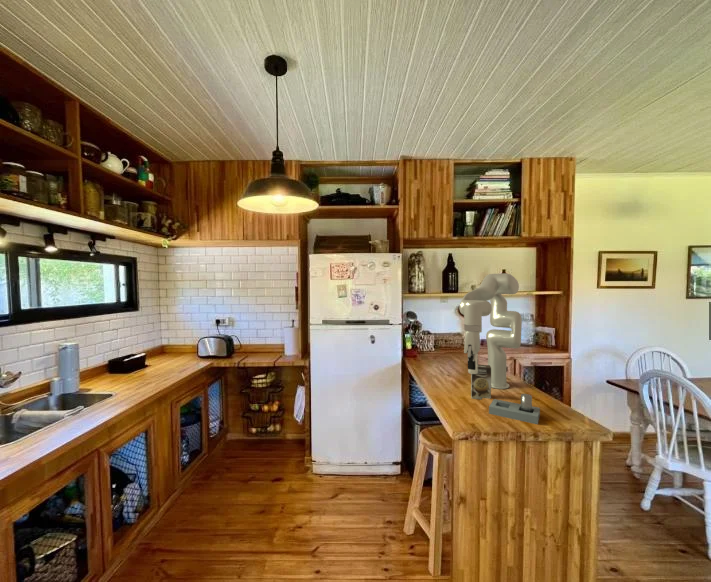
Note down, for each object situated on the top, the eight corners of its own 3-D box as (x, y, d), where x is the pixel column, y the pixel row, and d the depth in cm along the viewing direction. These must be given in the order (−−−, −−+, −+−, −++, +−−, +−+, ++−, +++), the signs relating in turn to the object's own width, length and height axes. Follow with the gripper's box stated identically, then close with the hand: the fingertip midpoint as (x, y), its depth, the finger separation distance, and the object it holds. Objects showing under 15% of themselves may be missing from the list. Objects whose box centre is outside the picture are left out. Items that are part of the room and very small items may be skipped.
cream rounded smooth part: (469, 371, 141) (469, 351, 141) (478, 372, 139) (478, 353, 139) (467, 373, 138) (467, 353, 138) (476, 374, 136) (476, 354, 135)
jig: (494, 407, 138) (494, 398, 138) (539, 417, 128) (539, 407, 128) (488, 415, 129) (488, 406, 129) (537, 426, 119) (537, 416, 119)
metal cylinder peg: (521, 414, 129) (521, 393, 129) (532, 416, 127) (532, 394, 127) (520, 417, 126) (520, 395, 126) (531, 419, 123) (531, 397, 123)
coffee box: (471, 398, 150) (471, 366, 150) (470, 394, 156) (470, 363, 156) (491, 400, 147) (491, 367, 147) (490, 396, 153) (490, 364, 153)
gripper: (469, 325, 147) (469, 363, 147) (459, 330, 133) (459, 371, 134) (485, 326, 143) (485, 365, 143) (476, 331, 129) (477, 374, 129)
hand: (472, 367), depth 138 cm, fingers closed on cream rounded smooth part, 4 cm apart
